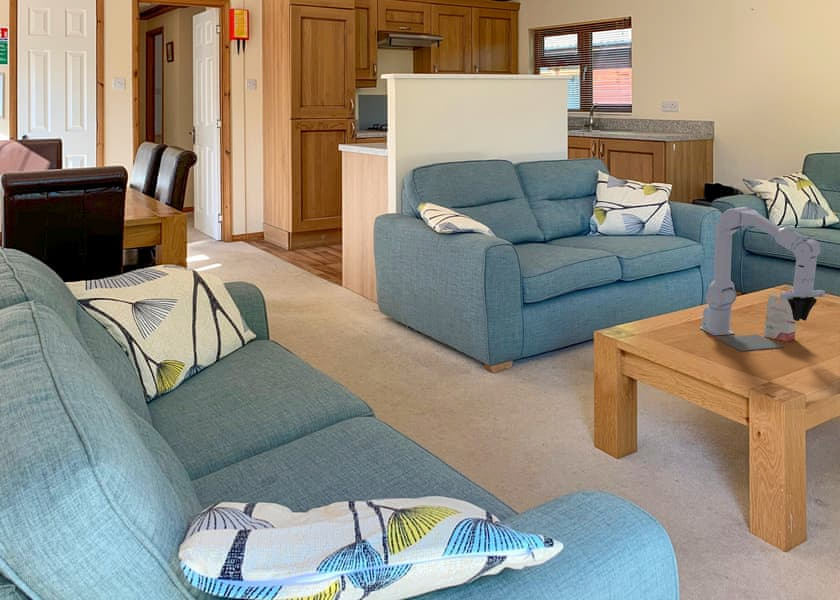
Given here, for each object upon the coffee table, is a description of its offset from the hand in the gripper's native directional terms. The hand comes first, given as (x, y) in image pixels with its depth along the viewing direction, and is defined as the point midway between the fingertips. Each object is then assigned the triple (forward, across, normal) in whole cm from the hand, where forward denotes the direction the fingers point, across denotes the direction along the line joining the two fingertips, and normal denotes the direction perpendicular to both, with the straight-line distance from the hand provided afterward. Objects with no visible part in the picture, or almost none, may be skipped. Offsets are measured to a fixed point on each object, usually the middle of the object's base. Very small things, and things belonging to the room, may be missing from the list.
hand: (799, 320), depth 244 cm
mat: (+10, -9, +11) cm, 18 cm away
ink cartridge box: (+11, +4, +14) cm, 18 cm away
